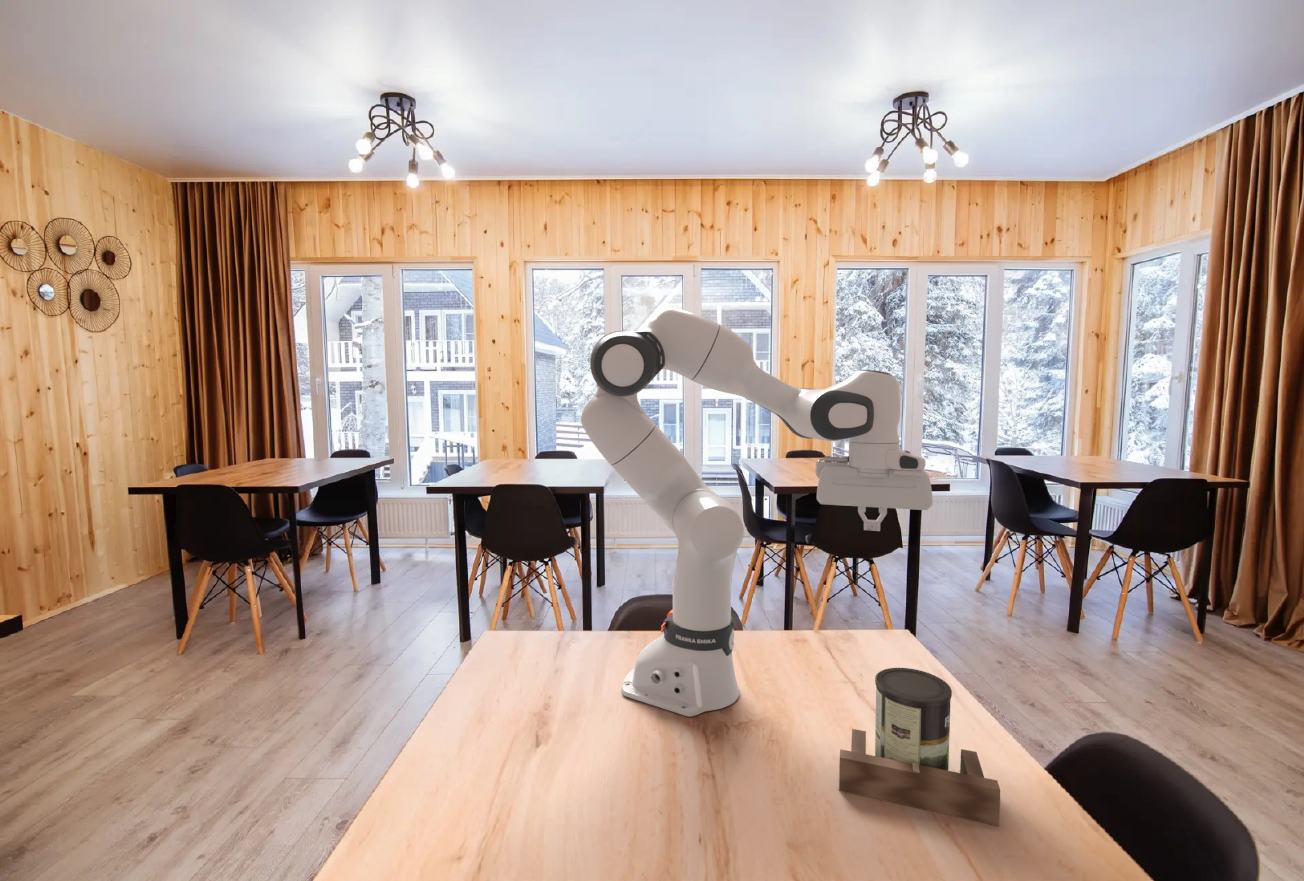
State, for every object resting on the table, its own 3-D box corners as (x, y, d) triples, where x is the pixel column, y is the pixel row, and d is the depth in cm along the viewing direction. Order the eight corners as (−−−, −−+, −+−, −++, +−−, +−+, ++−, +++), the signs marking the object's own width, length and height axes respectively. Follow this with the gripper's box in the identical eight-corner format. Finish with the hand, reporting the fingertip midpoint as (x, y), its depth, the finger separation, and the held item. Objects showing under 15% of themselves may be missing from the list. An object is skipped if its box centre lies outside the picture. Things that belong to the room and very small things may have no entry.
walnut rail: (839, 790, 82) (839, 756, 82) (841, 757, 90) (841, 725, 89) (999, 826, 75) (1000, 788, 75) (987, 787, 82) (988, 752, 82)
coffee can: (940, 758, 89) (943, 671, 88) (956, 803, 79) (959, 706, 78) (870, 747, 92) (872, 663, 91) (876, 790, 82) (879, 696, 81)
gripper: (814, 457, 108) (813, 529, 109) (934, 460, 101) (932, 538, 102) (817, 454, 114) (816, 522, 115) (931, 457, 106) (928, 530, 107)
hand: (871, 530), depth 108 cm, fingers closed
